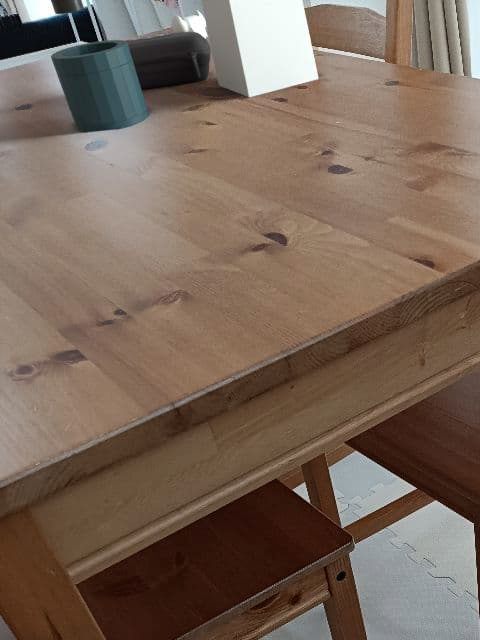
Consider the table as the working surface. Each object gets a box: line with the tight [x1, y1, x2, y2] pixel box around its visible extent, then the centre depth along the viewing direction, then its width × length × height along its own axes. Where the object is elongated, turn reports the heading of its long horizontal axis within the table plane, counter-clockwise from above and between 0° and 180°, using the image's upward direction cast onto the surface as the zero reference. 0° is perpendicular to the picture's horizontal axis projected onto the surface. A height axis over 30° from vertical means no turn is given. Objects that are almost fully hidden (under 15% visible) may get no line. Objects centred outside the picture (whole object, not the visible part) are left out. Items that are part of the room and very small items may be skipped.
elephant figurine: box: [170, 9, 209, 40], centre depth 144 cm, size 7×8×6 cm
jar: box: [50, 39, 149, 133], centre depth 109 cm, size 10×10×9 cm
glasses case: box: [124, 32, 212, 90], centre depth 125 cm, size 18×10×8 cm, turn 96°
